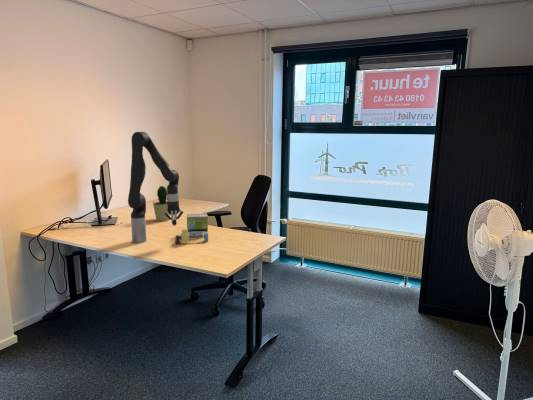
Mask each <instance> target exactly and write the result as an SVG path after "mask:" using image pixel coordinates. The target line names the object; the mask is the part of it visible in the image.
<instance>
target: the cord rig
mask: <svg viewBox="0 0 533 400" xmlns="http://www.w3.org/2000/svg"><path fill="white" fill-rule="evenodd" d="M198 238H201V239H202V240H204V242H205V243H208V242H209V231H208V232H204V233H202V234H200V235H189V239H198ZM181 239H182V236H181V235H179V234H177V235H176V234H175V241H174V243H175V245H176V246H179V245H182V244H181V241H180V240H181Z"/></svg>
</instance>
